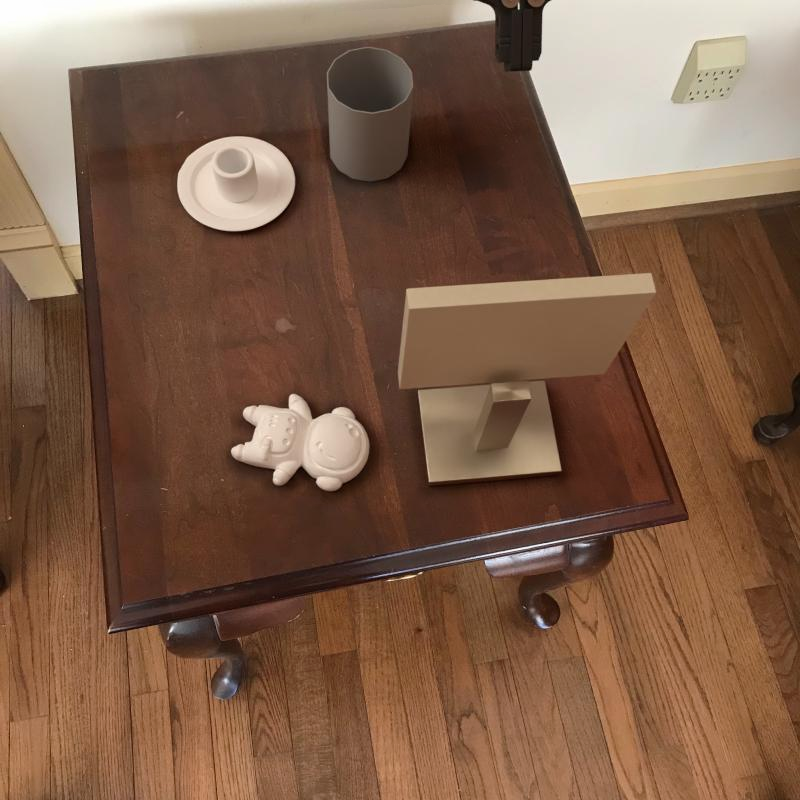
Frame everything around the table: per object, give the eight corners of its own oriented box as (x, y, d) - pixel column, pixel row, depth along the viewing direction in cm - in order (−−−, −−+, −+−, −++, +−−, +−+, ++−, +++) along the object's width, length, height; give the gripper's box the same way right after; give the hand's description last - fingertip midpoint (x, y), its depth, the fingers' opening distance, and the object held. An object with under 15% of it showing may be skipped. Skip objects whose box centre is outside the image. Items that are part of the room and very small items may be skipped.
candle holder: (159, 168, 87) (150, 139, 83) (262, 125, 90) (258, 96, 86) (209, 253, 83) (202, 227, 79) (316, 205, 86) (314, 178, 82)
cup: (389, 191, 87) (393, 124, 78) (317, 166, 88) (312, 96, 79) (418, 133, 90) (425, 62, 81) (348, 109, 91) (348, 36, 82)
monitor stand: (416, 394, 78) (427, 333, 67) (542, 385, 79) (572, 323, 68) (428, 486, 74) (440, 437, 63) (559, 475, 76) (594, 425, 64)
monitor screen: (397, 370, 68) (406, 286, 56) (600, 355, 69) (651, 270, 57) (399, 389, 67) (408, 308, 55) (604, 374, 69) (656, 292, 57)
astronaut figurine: (255, 386, 78) (252, 372, 75) (379, 420, 77) (380, 407, 74) (223, 472, 74) (217, 460, 71) (352, 508, 73) (352, 498, 71)
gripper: (419, -265, 46) (428, 75, 52) (653, -267, 47) (634, 66, 53) (404, -220, 53) (413, 75, 59) (608, -222, 54) (596, 67, 60)
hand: (518, 70), depth 56 cm, fingers closed
